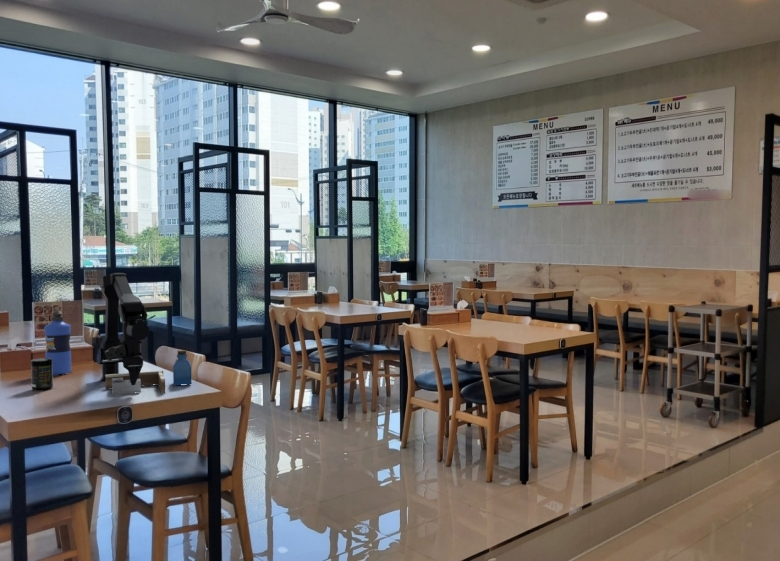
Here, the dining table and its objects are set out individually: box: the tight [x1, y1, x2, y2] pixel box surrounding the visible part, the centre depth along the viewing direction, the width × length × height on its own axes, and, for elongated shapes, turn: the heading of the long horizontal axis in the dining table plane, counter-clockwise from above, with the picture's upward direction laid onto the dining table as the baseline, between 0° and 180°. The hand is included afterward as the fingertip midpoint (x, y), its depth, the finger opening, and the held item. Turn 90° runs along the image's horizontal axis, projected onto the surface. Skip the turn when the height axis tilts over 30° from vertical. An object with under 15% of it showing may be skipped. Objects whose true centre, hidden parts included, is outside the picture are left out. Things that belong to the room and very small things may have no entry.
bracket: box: [111, 378, 142, 396], centre depth 222 cm, size 9×9×4 cm
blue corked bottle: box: [172, 350, 192, 385], centre depth 235 cm, size 6×6×12 cm
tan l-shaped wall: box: [105, 370, 166, 394], centre depth 223 cm, size 18×19×5 cm
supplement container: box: [30, 357, 54, 391], centre depth 227 cm, size 7×7×10 cm
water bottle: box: [43, 310, 72, 376], centre depth 257 cm, size 9×9×25 cm
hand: (132, 382), depth 221 cm, fingers open, 9 cm apart
